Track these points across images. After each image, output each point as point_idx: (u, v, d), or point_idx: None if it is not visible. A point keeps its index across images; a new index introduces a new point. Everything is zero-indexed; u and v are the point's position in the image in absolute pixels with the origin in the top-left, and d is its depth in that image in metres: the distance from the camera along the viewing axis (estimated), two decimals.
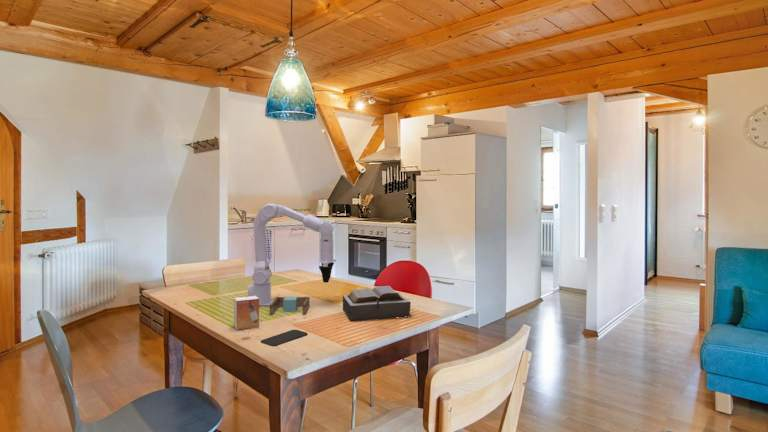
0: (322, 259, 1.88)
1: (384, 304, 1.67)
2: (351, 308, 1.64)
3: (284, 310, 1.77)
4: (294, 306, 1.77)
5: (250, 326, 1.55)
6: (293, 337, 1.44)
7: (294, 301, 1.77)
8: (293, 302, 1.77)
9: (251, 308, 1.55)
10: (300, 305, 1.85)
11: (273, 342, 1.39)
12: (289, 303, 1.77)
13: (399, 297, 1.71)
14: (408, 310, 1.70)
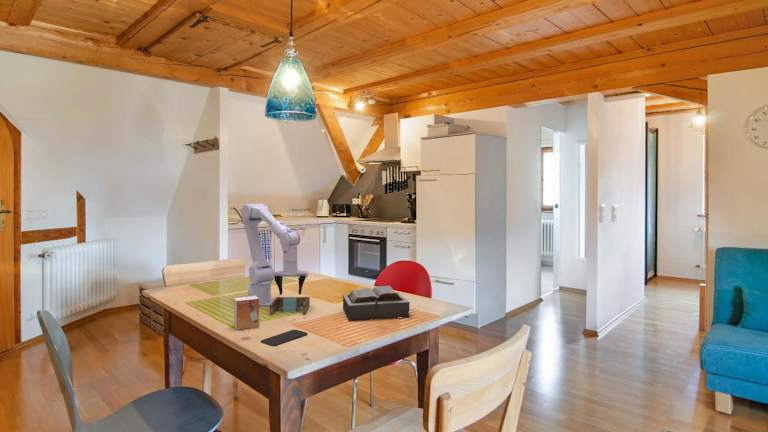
0: None
1: (383, 304, 1.67)
2: (349, 308, 1.64)
3: (284, 310, 1.77)
4: (294, 306, 1.77)
5: (250, 326, 1.55)
6: (293, 337, 1.44)
7: (294, 301, 1.77)
8: (293, 302, 1.77)
9: (251, 308, 1.55)
10: (300, 305, 1.85)
11: (273, 342, 1.39)
12: (289, 303, 1.77)
13: (398, 297, 1.71)
14: (407, 310, 1.69)
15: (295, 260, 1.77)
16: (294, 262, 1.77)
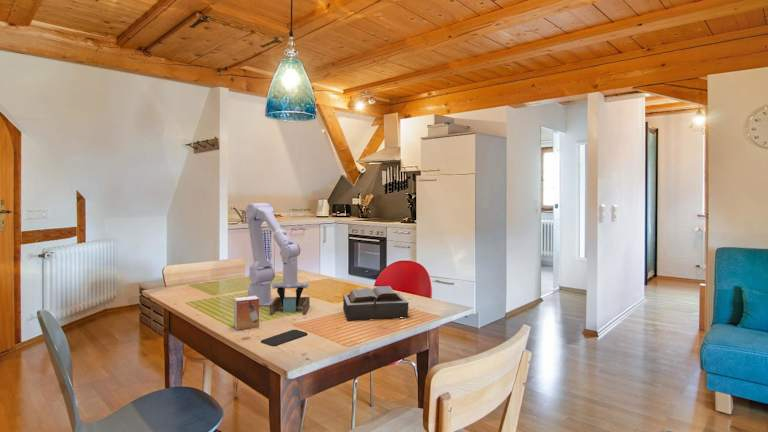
0: None
1: (381, 304, 1.67)
2: (348, 307, 1.65)
3: (284, 310, 1.77)
4: (294, 306, 1.77)
5: (250, 326, 1.55)
6: (293, 337, 1.44)
7: (294, 301, 1.77)
8: (293, 302, 1.77)
9: (251, 308, 1.55)
10: (300, 305, 1.85)
11: (273, 342, 1.39)
12: (289, 303, 1.77)
13: (397, 297, 1.71)
14: (406, 311, 1.69)
15: (295, 272, 1.77)
16: (294, 274, 1.77)
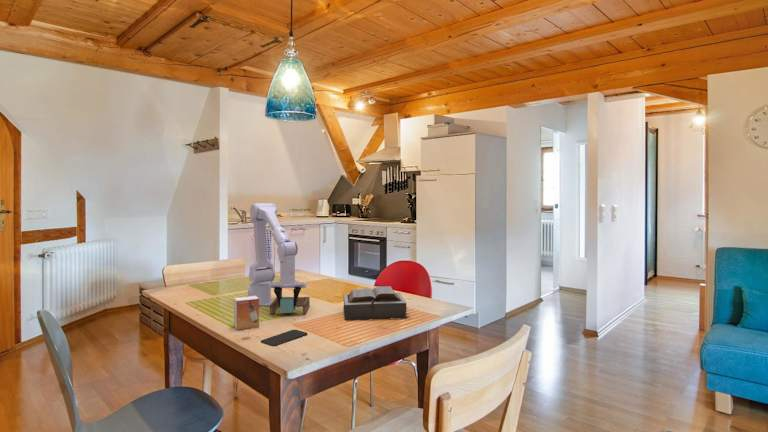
0: None
1: (379, 304, 1.66)
2: (345, 307, 1.65)
3: (281, 310, 1.71)
4: (292, 306, 1.71)
5: (250, 326, 1.55)
6: (293, 337, 1.44)
7: (292, 301, 1.71)
8: (290, 302, 1.71)
9: (251, 308, 1.55)
10: (300, 305, 1.85)
11: (273, 342, 1.39)
12: (286, 303, 1.70)
13: (396, 298, 1.70)
14: (404, 311, 1.68)
15: (291, 271, 1.70)
16: (292, 273, 1.71)
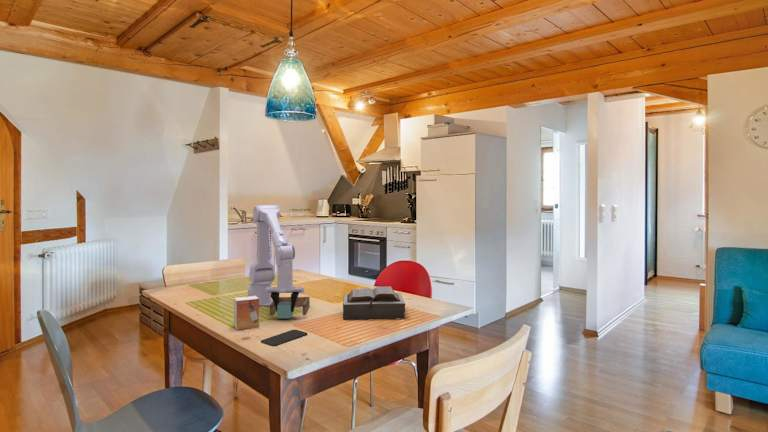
0: None
1: (377, 304, 1.66)
2: (344, 307, 1.66)
3: (278, 316, 1.65)
4: (289, 312, 1.65)
5: (250, 326, 1.55)
6: (293, 337, 1.44)
7: (289, 306, 1.65)
8: (288, 307, 1.65)
9: (251, 308, 1.55)
10: (300, 305, 1.85)
11: (273, 342, 1.39)
12: (283, 309, 1.65)
13: (394, 298, 1.70)
14: (402, 312, 1.67)
15: (288, 275, 1.65)
16: (289, 277, 1.65)
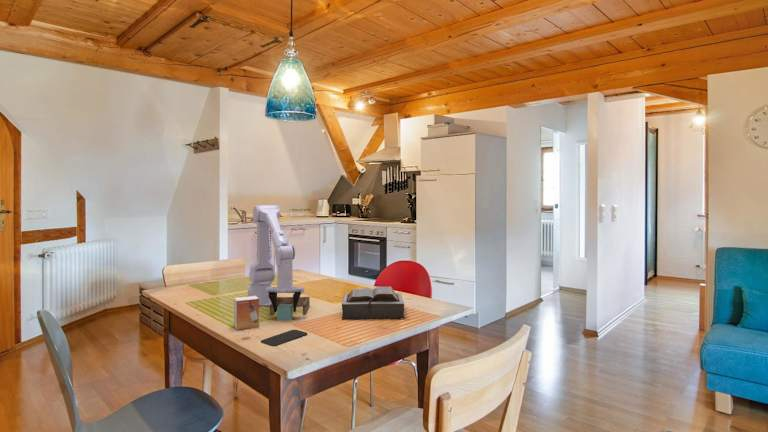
0: None
1: (376, 304, 1.66)
2: (342, 306, 1.66)
3: (278, 318, 1.65)
4: (289, 314, 1.65)
5: (250, 326, 1.55)
6: (293, 337, 1.44)
7: (289, 309, 1.65)
8: (288, 310, 1.65)
9: (251, 308, 1.55)
10: (300, 305, 1.85)
11: (273, 342, 1.39)
12: (283, 311, 1.65)
13: (394, 298, 1.69)
14: (401, 312, 1.67)
15: (288, 276, 1.65)
16: (289, 277, 1.65)
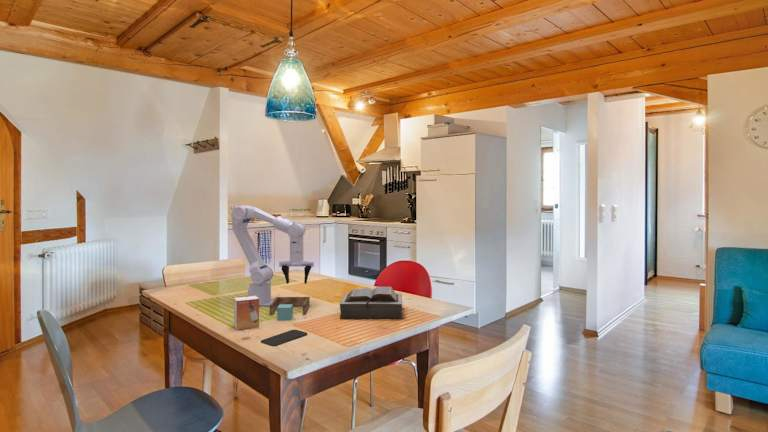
0: None
1: (374, 304, 1.66)
2: (340, 306, 1.67)
3: (278, 318, 1.65)
4: (289, 314, 1.65)
5: (250, 326, 1.55)
6: (293, 337, 1.44)
7: (289, 309, 1.65)
8: (288, 310, 1.65)
9: (251, 308, 1.55)
10: (300, 305, 1.85)
11: (273, 342, 1.39)
12: (283, 311, 1.65)
13: (392, 299, 1.69)
14: (399, 312, 1.66)
15: None
16: (300, 252, 1.84)
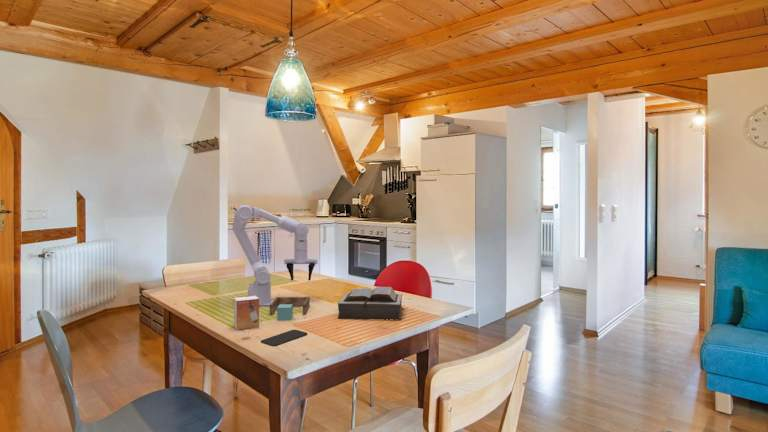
0: None
1: (371, 304, 1.66)
2: (339, 306, 1.68)
3: (278, 318, 1.65)
4: (289, 314, 1.65)
5: (250, 326, 1.55)
6: (293, 337, 1.44)
7: (289, 309, 1.65)
8: (288, 310, 1.65)
9: (251, 308, 1.55)
10: (300, 305, 1.85)
11: (273, 342, 1.39)
12: (283, 311, 1.65)
13: (390, 299, 1.69)
14: (397, 313, 1.66)
15: None
16: (304, 250, 1.93)
